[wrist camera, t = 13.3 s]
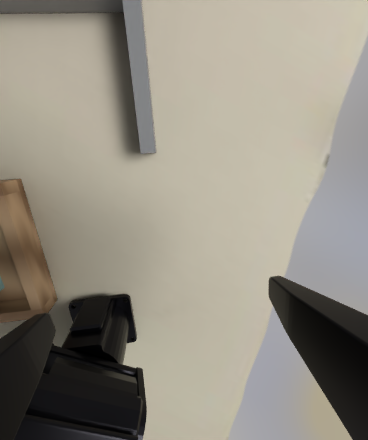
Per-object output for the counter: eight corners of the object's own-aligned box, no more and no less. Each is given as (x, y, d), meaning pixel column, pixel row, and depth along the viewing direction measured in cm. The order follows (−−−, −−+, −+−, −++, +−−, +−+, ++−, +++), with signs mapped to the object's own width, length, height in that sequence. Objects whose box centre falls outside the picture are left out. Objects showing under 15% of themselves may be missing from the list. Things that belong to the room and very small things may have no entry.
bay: (156, 152, 19) (155, 152, 17) (-24, 163, 18) (-53, 165, 16) (140, -9, 16) (137, -38, 13) (-87, -8, 14) (-136, -40, 12)
